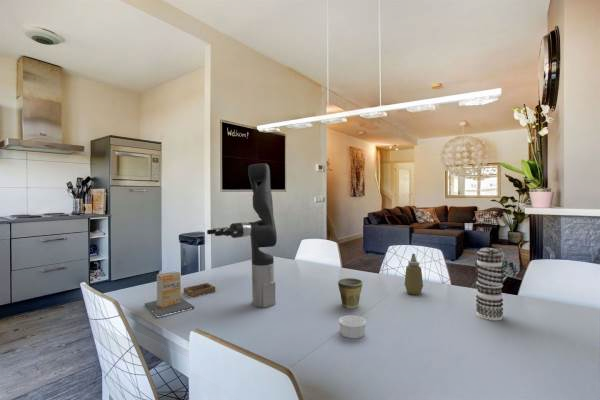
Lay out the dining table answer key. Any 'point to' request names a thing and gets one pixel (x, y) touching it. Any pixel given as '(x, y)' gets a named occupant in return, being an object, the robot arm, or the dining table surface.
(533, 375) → the dining table surface
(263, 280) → the robot arm
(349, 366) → the dining table surface
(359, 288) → the ceramic cup
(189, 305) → the slate mat
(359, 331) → the ramekin
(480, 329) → the dining table surface
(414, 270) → the squeeze bottle
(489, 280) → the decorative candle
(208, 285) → the cradle
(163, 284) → the supplement box
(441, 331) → the dining table surface
